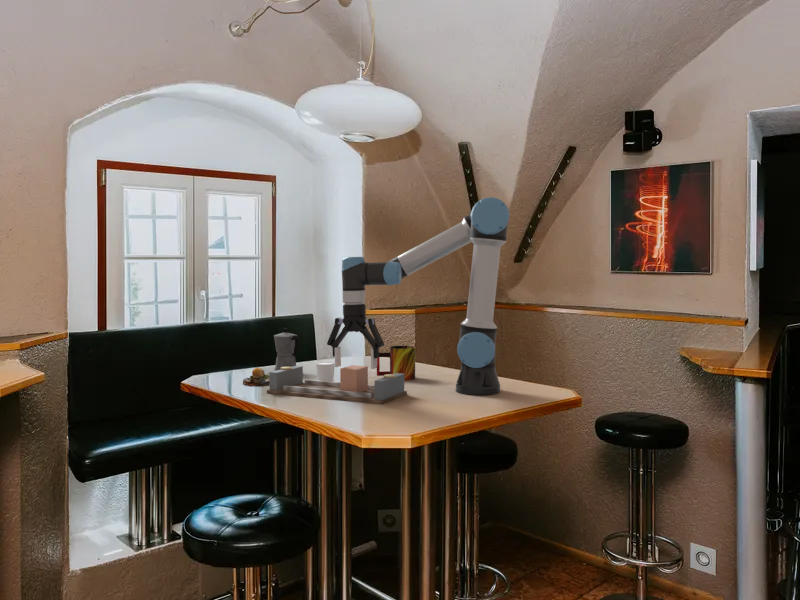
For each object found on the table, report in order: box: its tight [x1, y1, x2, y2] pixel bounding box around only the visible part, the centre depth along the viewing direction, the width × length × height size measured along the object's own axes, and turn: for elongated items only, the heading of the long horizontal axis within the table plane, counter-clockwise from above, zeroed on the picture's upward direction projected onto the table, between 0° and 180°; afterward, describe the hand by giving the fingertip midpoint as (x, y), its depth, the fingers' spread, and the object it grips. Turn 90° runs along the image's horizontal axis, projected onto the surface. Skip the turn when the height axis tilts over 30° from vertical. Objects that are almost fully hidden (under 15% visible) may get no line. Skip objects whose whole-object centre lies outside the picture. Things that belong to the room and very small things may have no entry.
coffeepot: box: [273, 327, 300, 371], centre depth 276 cm, size 15×9×18 cm, turn 43°
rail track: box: [266, 379, 408, 405], centre depth 232 cm, size 44×18×2 cm, turn 65°
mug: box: [376, 345, 416, 381], centre depth 262 cm, size 10×14×12 cm
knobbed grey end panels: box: [268, 365, 405, 400], centre depth 232 cm, size 44×16×7 cm, turn 65°
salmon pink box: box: [339, 365, 369, 392], centre depth 229 cm, size 6×8×8 cm
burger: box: [242, 367, 270, 387], centre depth 253 cm, size 12×12×8 cm
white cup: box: [315, 361, 336, 382], centre depth 255 cm, size 7×7×7 cm
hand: (355, 367), depth 229 cm, fingers open, 13 cm apart
